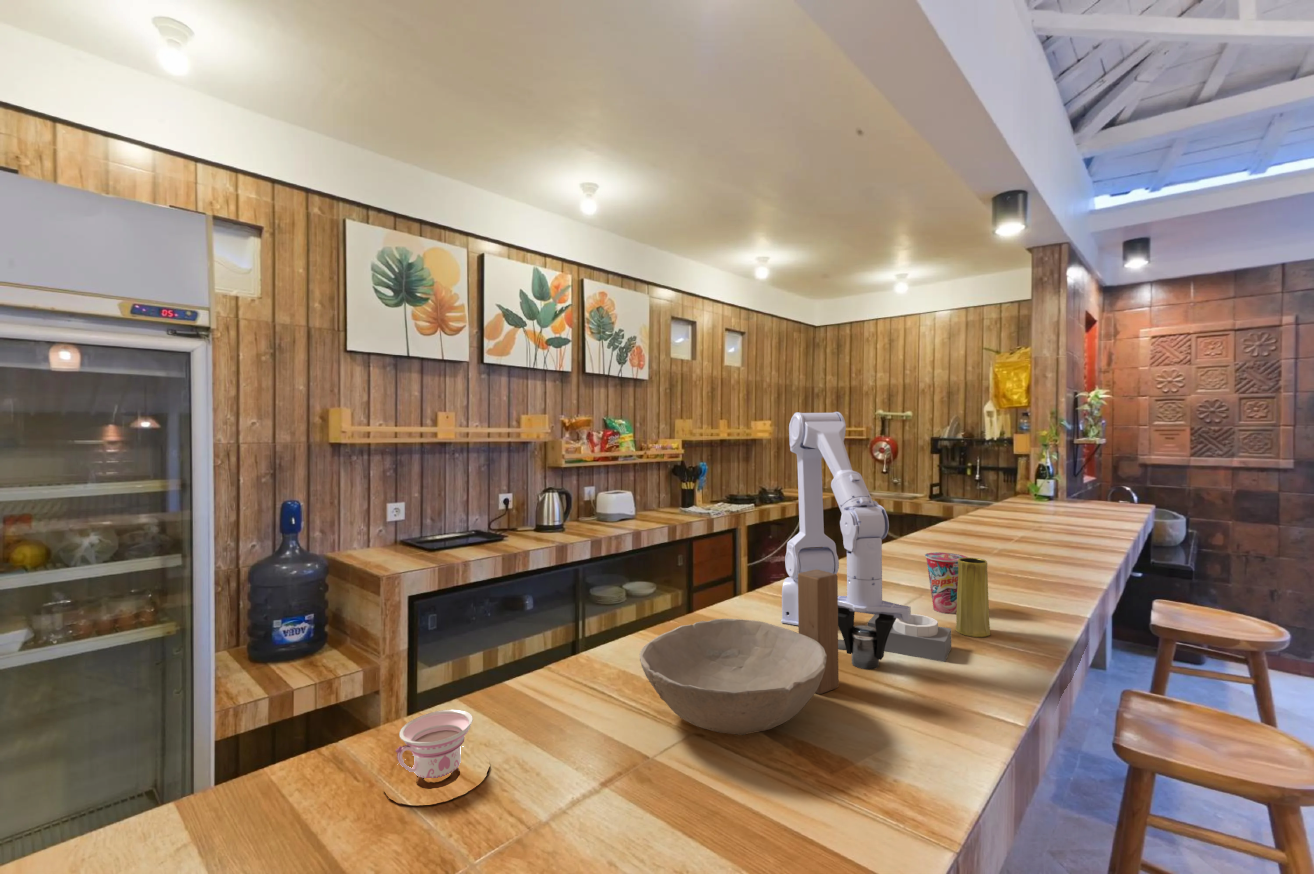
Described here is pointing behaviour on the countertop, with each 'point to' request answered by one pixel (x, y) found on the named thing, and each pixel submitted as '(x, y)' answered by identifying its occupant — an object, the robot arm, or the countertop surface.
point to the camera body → (918, 637)
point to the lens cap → (841, 645)
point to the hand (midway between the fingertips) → (865, 654)
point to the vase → (972, 598)
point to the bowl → (734, 673)
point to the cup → (943, 580)
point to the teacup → (435, 742)
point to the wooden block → (820, 619)
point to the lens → (864, 647)
